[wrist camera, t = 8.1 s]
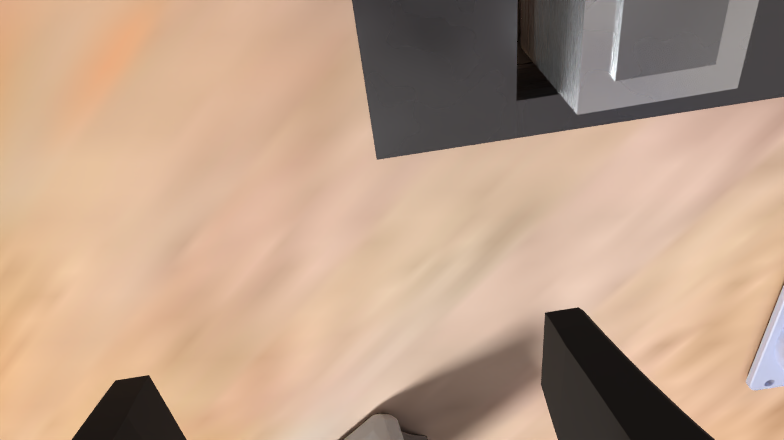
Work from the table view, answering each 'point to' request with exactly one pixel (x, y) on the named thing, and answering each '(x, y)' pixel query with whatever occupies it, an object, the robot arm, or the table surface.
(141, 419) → the robot arm
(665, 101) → the dark grey flat block
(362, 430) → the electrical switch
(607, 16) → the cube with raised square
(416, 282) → the table surface
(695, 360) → the table surface
